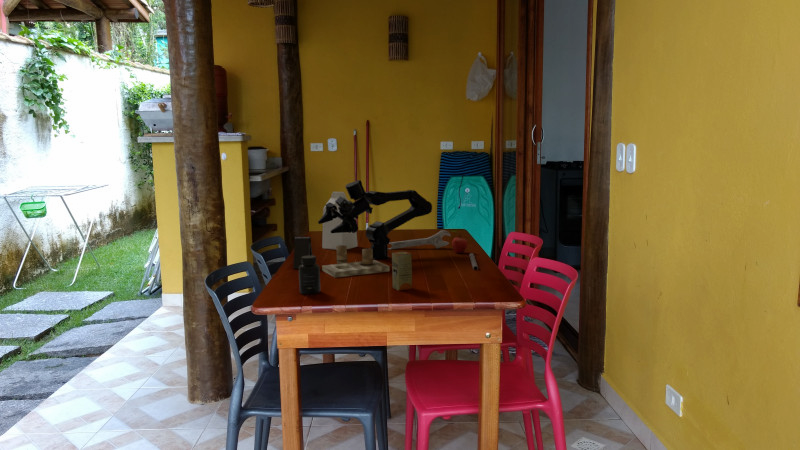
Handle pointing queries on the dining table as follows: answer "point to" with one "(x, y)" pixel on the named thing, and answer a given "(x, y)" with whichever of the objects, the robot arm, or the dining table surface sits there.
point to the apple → (459, 244)
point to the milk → (336, 239)
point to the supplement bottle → (309, 276)
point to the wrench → (423, 241)
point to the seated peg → (367, 257)
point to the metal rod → (473, 261)
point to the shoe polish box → (402, 270)
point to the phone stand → (301, 250)
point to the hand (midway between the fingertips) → (324, 227)
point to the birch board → (354, 269)
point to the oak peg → (341, 254)
